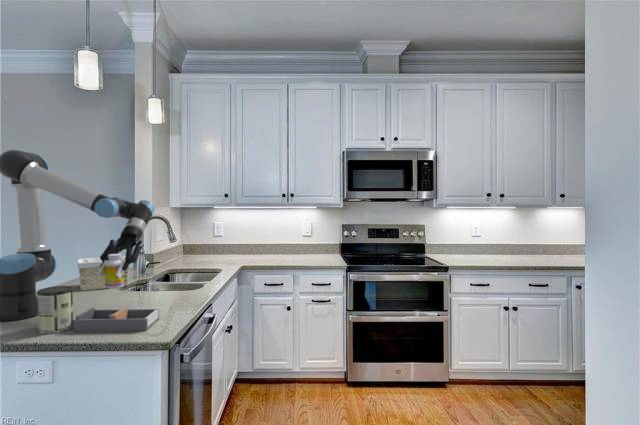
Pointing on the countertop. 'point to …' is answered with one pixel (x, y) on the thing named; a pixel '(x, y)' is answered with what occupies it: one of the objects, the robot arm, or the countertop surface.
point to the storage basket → (94, 274)
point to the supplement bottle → (113, 272)
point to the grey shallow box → (115, 320)
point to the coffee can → (55, 309)
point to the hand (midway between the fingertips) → (108, 276)
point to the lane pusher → (120, 314)
